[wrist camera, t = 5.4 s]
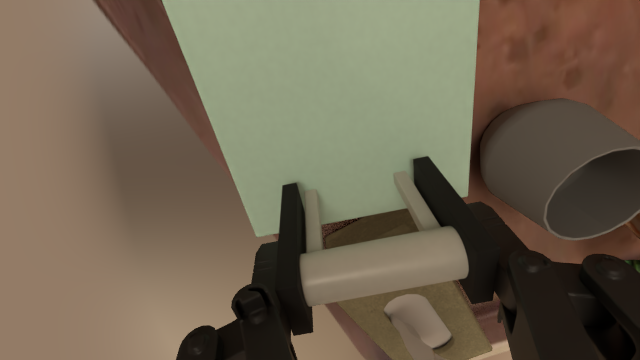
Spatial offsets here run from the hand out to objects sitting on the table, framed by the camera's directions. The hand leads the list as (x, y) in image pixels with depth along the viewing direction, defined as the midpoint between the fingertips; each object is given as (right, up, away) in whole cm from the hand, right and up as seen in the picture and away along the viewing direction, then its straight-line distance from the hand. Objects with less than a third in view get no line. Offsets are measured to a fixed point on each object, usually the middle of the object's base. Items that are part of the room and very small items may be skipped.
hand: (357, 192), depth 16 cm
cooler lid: (-1, +7, -2) cm, 7 cm away
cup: (+16, +5, +13) cm, 21 cm away
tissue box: (+7, -9, +21) cm, 24 cm away
